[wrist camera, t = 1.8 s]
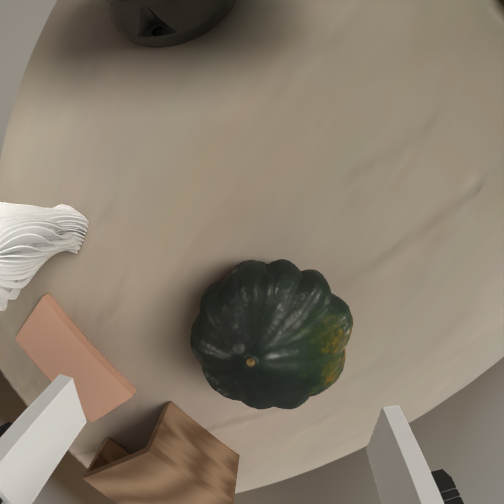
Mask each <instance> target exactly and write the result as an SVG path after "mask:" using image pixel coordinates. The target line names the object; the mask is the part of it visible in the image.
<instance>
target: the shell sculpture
mask: <svg viewBox="0 0 504 504" xmlns="http://www.w3.org/2000/svg"><path fill="white" fill-rule="evenodd" d="M88 224H89V221H88V220H87V218H86V217H84V216H83V215H82V214H81V213H79V212H78V211H76V210H75V209H73V208H72V207H70V206H68V205H64V204H61V205H58V206H56V207H54V208H44V207H38V206H32V205H22V204H12V203H4V202H0V311H4V310H6V308H7V303H8V300H14V299H16V298H17V297H18V296H19V293H20V291H21V288H23V287H25V286H26V285H27V284H28V283H29V282H30V280H31V279H32V278H33V276H34V275H35V274H36V272H37V271H38V270H39V268H40V267H41V266H42V265H43V264H44V263H45V262H46V261H47V260H48V259H49V258H50V257H51V256H53V255H54V254H56V253H59V252H62V251H69V252H71V253H75V254H78V250H80V249H81V248H80V245H81V246H82V242H83V241H84V240H83V239H82V237H83V238H85V237H84V236H83V235H82V234H81V233H83V232H81V231H84V232H87V230H86V229H87V228H89V226H88ZM74 227H75V228H74ZM75 229H77V230H75ZM79 230H81V231H79ZM68 231H69V232H68ZM75 231H78V232H75ZM80 232H81V233H80ZM83 234H84V235H86V234H85V233H83ZM81 241H82V242H81ZM16 280H17V282H15V281H16ZM11 289H12V291H11V292H10V290H11ZM9 292H10V293H9Z"/></svg>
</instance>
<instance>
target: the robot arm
mask: <svg viewBox="0 0 504 504" xmlns="http://www.w3.org/2000/svg"><path fill="white" fill-rule="evenodd" d="M106 2H107V6H108V10H109V13H110V17H111V20H112V22H113V24H114V25H115V27H116V28H117V29H118V30H119V31H120V32H121V33H122V34H123V35H124V36H126V37H127V38H128V39H129V40H131V41H133V42H135V43H137V44H140V45H144V46H151V47H164V46H171V45H176V44H180V43H183V42H186V41H189V40H192V39H194V38H196V37H198V36H200V35H202V34H204V33H206V32H207V31H209V30H210V29H212V28H213V27H214V26H216V25H217V24H218V23H219V22H220V21H221V20H222V19H223V18H224V17H225V16H226V15H227V13H228V12H229V11H230V9H231V8H232V6H233V4H234V2H235V0H106ZM86 422H87V421H86V418H85V416H84V413H83V410H82V407H81V404H80V400H79V397H78V394H77V391H76V387H75V384H74V381H73V378H72V377H68V376H65V375H61V374H59V375H58V376H57V377H56V378H55V379H54V380H53V381H52V383H51V384H50V385H49V386H48V387H47V388H46V389H45V390H44V391H43V392H42V393H41V394H40V395H39V396H38V397H37V398H36V399H35V400H34V401H33V402H32V404H31V405H30V406H29V407H28V408H27V409H26V410H25V411H24V412H23V413H22V414H21V415H20V416H19V418H18V419H17V420H16V421H15V422H14V423H13V424H12V423H10V422H8V423H6V424H4V425H2V426H1V427H0V504H1V503H2V501H3V502H4V503H5V504H32V503H33V502H34V500H35V498H36V497H37V495H38V494H39V492H40V490H41V489H42V488H43V486H44V484H45V483H46V481H47V480H48V478H49V477H50V475H51V473H52V472H53V471H54V469H55V468H56V466H57V465H58V463H59V462H60V460H61V459H62V457H63V456H64V454H65V453H66V451H67V450H68V448H69V447H70V446H71V444H72V443H73V441H74V440H75V438H76V437H77V435H78V434H79V432H80V431H81V429H82V428H83V427H84V425H85V424H86ZM366 452H367V455H368V458H369V462H370V465H371V469H372V472H373V476H374V479H375V483H376V486H377V490H378V494H379V497H380V501H381V504H464V503H463V501H462V499H461V497H460V494H459V492H458V490H457V489H456V486H455V484H454V482H453V480H452V478H451V476H449V475H448V474H447V473H446V472H445V471H444V470H443V469H441V470H437V471H433V472H430V469H429V467H428V465H427V463H426V461H425V458H424V456H423V454H422V452H421V450H420V448H419V446H418V443H417V441H416V439H415V437H414V435H413V433H412V431H411V429H410V427H409V425H408V422H407V420H406V418H405V416H404V414H403V412H402V410H401V408H400V406H399V405H397V406H386V407H382V410H381V412H380V415H379V418H378V421H377V423H376V426H375V429H374V431H373V434H372V436H371V439H370V441H369V444H368V446H367V449H366Z"/></svg>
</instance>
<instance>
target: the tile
mask: <svg viewBox="0 0 504 504" xmlns="http://www.w3.org/2000/svg"><path fill="white" fill-rule="evenodd" d="M15 339H16V341H17V342H18V343H19V344H20V346H21V347H22V348H23V349H24V351H25V352H26V353H27V354H28V356H29V357H30V358H31V359H32V360H33V362H34V363H35V364H36V365H37V366H38V368H39V369H40V370H41V371H42V372H43V373H44V374H45V376H46V377H47V378H48V379H49V380H50V381H51V382H52V381H53V380H54V379H55V378H56V377H57V376H58V375H59V374H61V375H65V376H68V377H72V378H73V381H74V384H75V387H76V391H77V394H78V397H79V400H80V404H81V407H82V410H83V413H84V416H85V417H86V418H88V419H89V420H90V421H91V422H92V423H93V422H95V421H96V420H98V419H99V418H101V417H102V416H104V415H105V414H107V413H109V412H110V411H112V410H113V409H115V408H116V407H118V406H119V405H121V404H122V403H124V402H125V401H127V400H128V399H130V398H131V397H133V396H134V394H135V392H136V391H137V390H136V389H135V388H134V387H133V386H132V385H131V384H130V383H129V382H128V381H127V380H126V379H125V378H124V377H123V376H122V375H121V374H120V373H119V372H118V371H117V370H116V369H115V368H114V367H113V366H112V365H111V364H110V363H109V362H108V361H107V360H106V359H105V358H104V357H103V356H102V355H101V354H100V353H99V352H98V350H97V349H96V348H95V347H94V346H93V345H92V344H91V343H90V342H89V341H88V339H87V338H86V337H85V336H84V335H83V334H82V333H81V331H80V330H79V329H78V328H77V327H76V326H75V324H74V323H73V322H72V321H71V320H70V319H69V317H68V316H67V315H66V314H65V312H64V311H63V310H62V309H61V307H60V306H59V305H58V304H57V302H56V301H55V300H54V299H53V297H52V296H51V295H50V293H48V294H46V295H45V296H43V297H42V299H41V300H40V301H39V303H38V304H37V306H36V307H35V309H34V310H33V312H32V313H31V314H30V316H29V317H28V319H27V320H26V322H25V323H24V325H23V326H22V328H21V330H20V331H19V333H18V334H17V336H16V337H15Z"/></svg>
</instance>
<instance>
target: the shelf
mask: <svg viewBox="0 0 504 504" xmlns="http://www.w3.org/2000/svg"><path fill="white" fill-rule="evenodd" d="M238 462H239V455H238V454H237V453H235V452H234V451H233V450H231V449H230V448H229V447H227V446H226V445H225V444H223V443H222V442H221V441H219V440H218V439H217V438H215V437H214V436H213V435H211V434H210V433H209V432H208V431H206V430H205V429H204V428H203V427H201V426H200V425H199V424H198V423H196V422H195V421H194V420H193V419H192V418H190V417H189V416H188V415H187V414H186V413H184V412H183V411H182V410H181V409H180V408H179V407H177V406H176V405H175V404H174V403H173V402H172V401H169V402H168V403H166V404H165V406H164V408H163V410H162V412H161V415H160V417H159V419H158V421H157V424H156V426H155V428H154V430H153V433H152V435H151V437H150V439H149V442H148V444H147V446H146V447H145V448H143V449H141V450H139V451H137V452H135V453H132V454H129V453H128V452H127V451H126V450H124V449H123V448H122V447H121V446H119V445H118V444H117V443H116V442H114V441H113V440H112V439H111V438H110V437H108V438H106V439H105V441H104V442H103V444H102V446H101V447H100V449H99V451H98V452H97V454H96V456H95V457H94V459H93V461H92V463H91V464H90V466H89V468H88V470H87V471H86V473H85V475H84V476H83V479H84V480H85V481H87V482H88V483H89V484H91V485H92V486H93V487H95V488H96V489H97V490H99V491H100V492H102V493H103V494H104V495H106V496H107V497H109V498H110V499H112V500H113V501H115V502H116V503H118V504H233V502H234V495H235V487H236V479H237V471H238Z"/></svg>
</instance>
